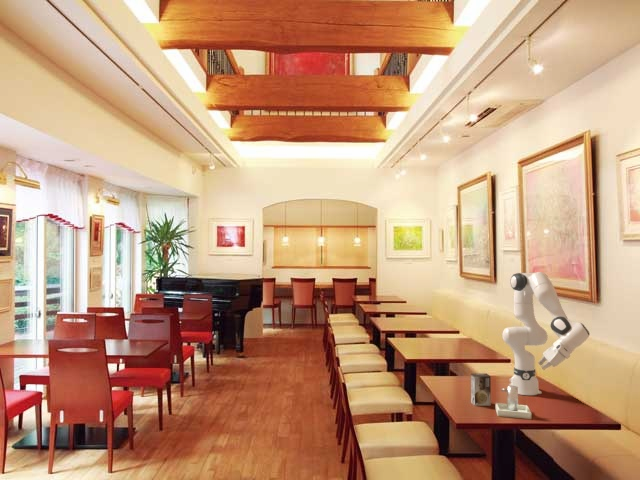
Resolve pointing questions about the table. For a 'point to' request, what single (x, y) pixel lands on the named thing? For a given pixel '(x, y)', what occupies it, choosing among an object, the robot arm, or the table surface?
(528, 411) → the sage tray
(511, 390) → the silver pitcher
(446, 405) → the table surface
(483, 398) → the coffee box
